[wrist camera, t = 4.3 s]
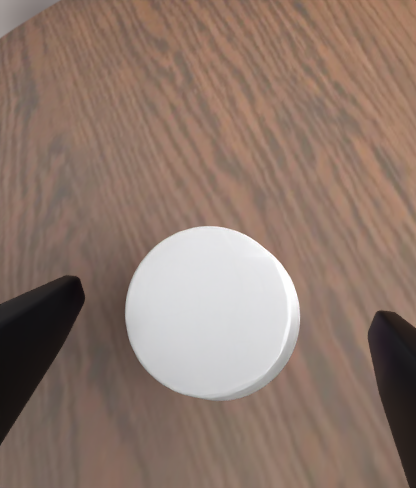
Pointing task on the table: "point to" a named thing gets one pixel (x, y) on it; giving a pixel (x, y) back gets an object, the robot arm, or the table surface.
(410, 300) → the table surface
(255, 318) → the pill bottle
